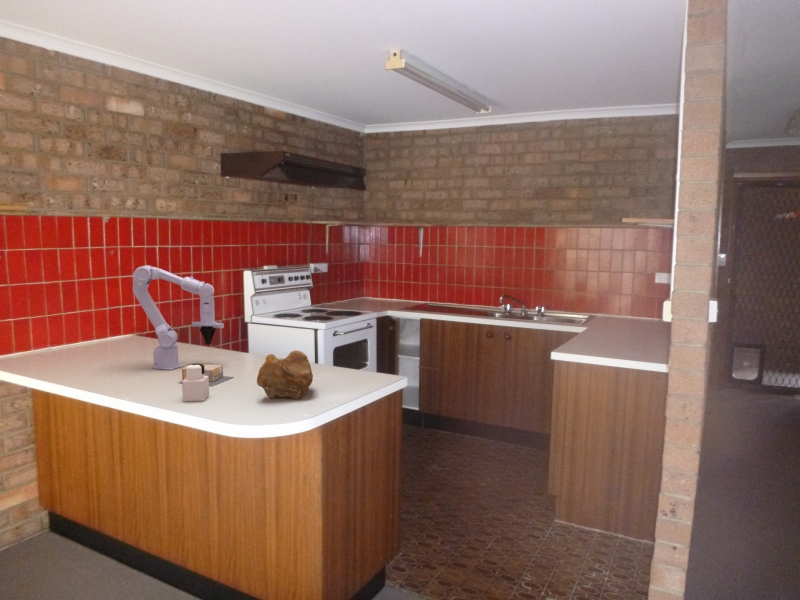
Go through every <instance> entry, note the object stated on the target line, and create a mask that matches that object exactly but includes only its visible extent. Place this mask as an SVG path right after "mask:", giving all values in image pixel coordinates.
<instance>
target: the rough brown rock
mask: <svg viewBox="0 0 800 600" xmlns="http://www.w3.org/2000/svg"><path fill="white" fill-rule="evenodd" d="M313 378H314V375H313V369H312V367H311V364H310V361H309V359H308V356H307V355H306V353H304V352H303V351H300V350H297V349H296V350H292V351H291V352H290V353H289V354H288V355H287V357H285V358H277V357H276V355H275V354H272V353H269V354H268V355H266V357H265V361H264V363H263V364H262V365H261V367H260V368H259V369H258V374H257V377H256V384H257V386H259V387H261V388H262V389H263V391H264V393H265V395H266V397H268V399H269V398H270V399H275V398H277V397H279V398H287V397H288V398H291V399H292V400H293V399H294V400H299V399H301V398H302V397H303V396H304V395H305V393H306V391H307V390H308V389H309V388H310V386H311V385H312V383H313Z"/></svg>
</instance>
